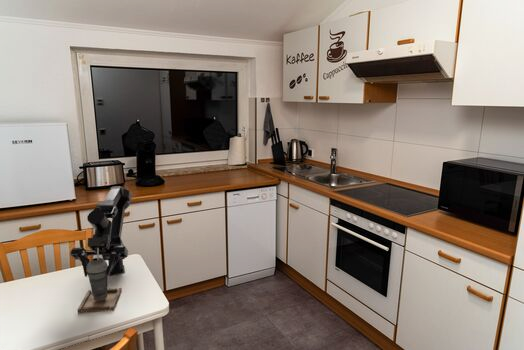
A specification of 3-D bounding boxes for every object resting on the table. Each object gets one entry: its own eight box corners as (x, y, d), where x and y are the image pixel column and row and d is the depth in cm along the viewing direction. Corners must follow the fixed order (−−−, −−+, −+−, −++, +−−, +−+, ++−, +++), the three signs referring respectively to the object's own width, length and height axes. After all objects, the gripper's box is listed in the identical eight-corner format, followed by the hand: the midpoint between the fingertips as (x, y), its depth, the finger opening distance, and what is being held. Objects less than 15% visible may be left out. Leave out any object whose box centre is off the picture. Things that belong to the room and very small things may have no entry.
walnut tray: (88, 293, 136) (88, 290, 136) (121, 291, 138) (121, 288, 138) (77, 313, 125) (77, 309, 124) (114, 310, 126) (113, 306, 126)
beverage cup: (97, 290, 135) (91, 242, 130) (115, 292, 134) (110, 243, 129) (85, 302, 128) (78, 251, 123) (103, 304, 127) (98, 253, 122)
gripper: (68, 227, 127) (60, 271, 119) (123, 225, 129) (118, 268, 122) (79, 238, 136) (71, 279, 129) (129, 236, 139) (125, 276, 131)
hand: (96, 275), depth 127 cm, fingers closed on beverage cup, 7 cm apart
